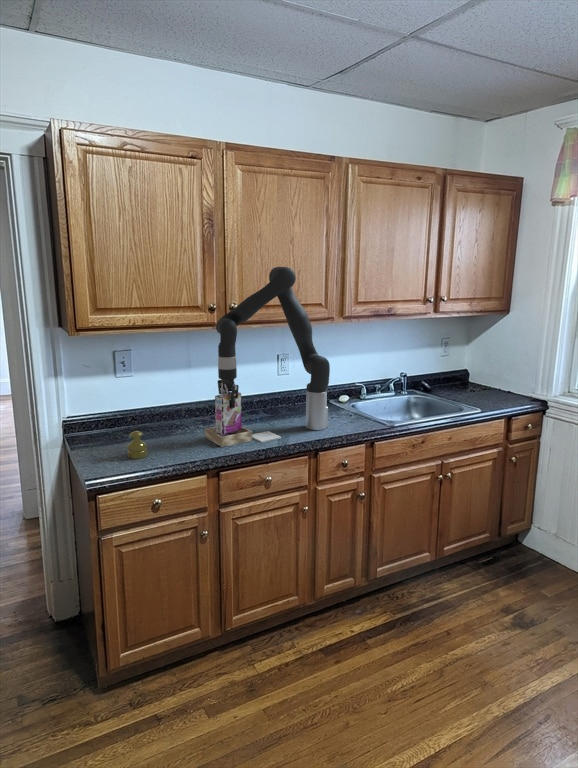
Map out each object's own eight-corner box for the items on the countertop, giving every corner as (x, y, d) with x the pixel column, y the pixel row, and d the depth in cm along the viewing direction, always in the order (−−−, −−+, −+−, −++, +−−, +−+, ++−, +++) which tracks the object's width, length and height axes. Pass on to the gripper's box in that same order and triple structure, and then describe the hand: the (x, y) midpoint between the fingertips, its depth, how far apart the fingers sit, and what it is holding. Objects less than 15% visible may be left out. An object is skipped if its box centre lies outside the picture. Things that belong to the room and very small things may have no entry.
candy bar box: (223, 435, 218) (222, 397, 214) (215, 433, 221) (214, 395, 217) (242, 429, 226) (241, 392, 223) (234, 427, 229) (233, 390, 226)
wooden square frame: (235, 431, 234) (234, 423, 233) (252, 440, 223) (252, 431, 222) (205, 437, 226) (205, 428, 225) (221, 446, 214) (221, 437, 213)
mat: (268, 432, 234) (268, 431, 233) (281, 438, 226) (281, 437, 225) (249, 436, 228) (249, 435, 228) (261, 442, 220) (261, 441, 220)
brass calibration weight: (149, 452, 207) (148, 428, 205) (144, 459, 200) (143, 434, 198) (130, 452, 207) (128, 428, 205) (125, 459, 200) (123, 434, 198)
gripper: (244, 368, 214) (244, 408, 218) (226, 363, 225) (227, 401, 229) (227, 370, 210) (229, 411, 213) (211, 365, 221) (212, 404, 225)
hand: (228, 406), depth 221 cm, fingers closed on candy bar box, 5 cm apart
